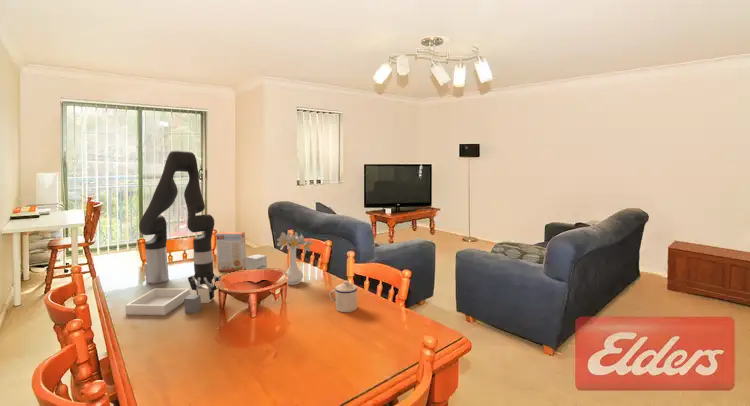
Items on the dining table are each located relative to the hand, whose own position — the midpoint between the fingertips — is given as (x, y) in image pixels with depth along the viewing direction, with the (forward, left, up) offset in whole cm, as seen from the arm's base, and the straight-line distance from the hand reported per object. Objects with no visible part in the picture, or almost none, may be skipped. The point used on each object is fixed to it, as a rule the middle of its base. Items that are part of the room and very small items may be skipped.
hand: (205, 298), depth 175 cm
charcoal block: (0, -11, -1) cm, 11 cm away
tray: (-17, -6, -1) cm, 18 cm away
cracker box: (-7, +46, -1) cm, 47 cm away
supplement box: (+13, +28, -1) cm, 31 cm away
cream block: (0, 0, -1) cm, 1 cm away
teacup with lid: (+61, -6, -1) cm, 61 cm away
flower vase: (+33, +25, -1) cm, 42 cm away
